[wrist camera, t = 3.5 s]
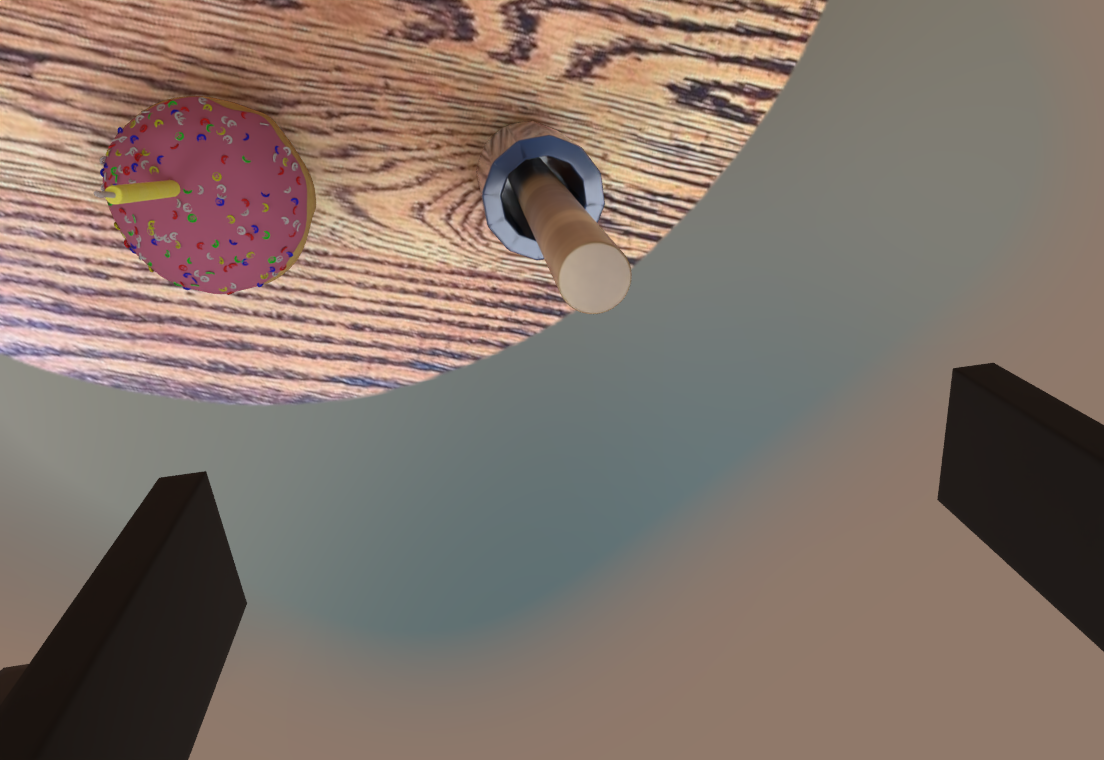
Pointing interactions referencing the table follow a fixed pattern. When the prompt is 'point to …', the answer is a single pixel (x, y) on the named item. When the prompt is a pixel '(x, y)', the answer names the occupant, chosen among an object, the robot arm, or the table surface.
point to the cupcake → (208, 194)
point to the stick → (571, 241)
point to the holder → (511, 152)
